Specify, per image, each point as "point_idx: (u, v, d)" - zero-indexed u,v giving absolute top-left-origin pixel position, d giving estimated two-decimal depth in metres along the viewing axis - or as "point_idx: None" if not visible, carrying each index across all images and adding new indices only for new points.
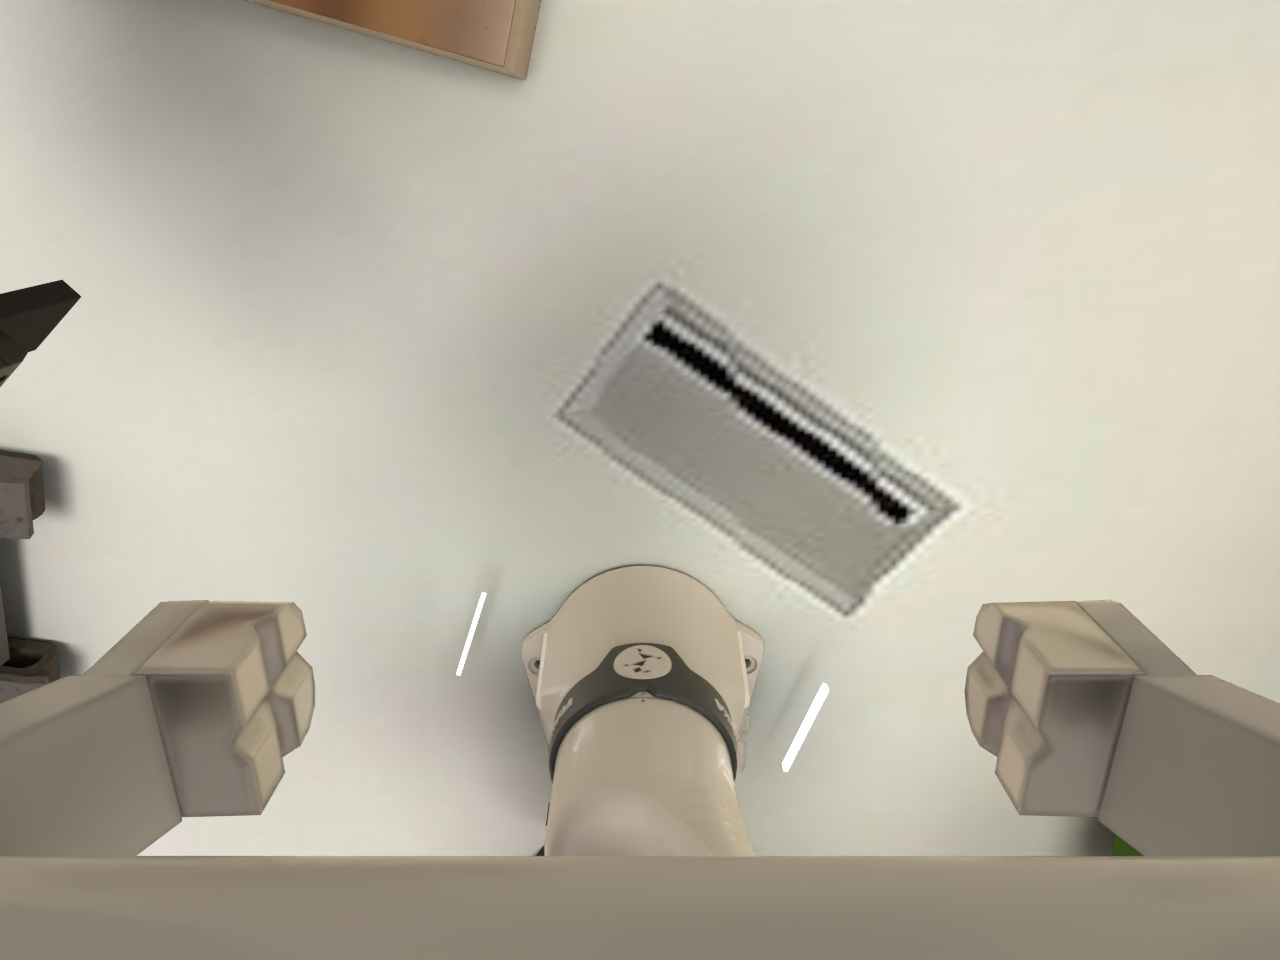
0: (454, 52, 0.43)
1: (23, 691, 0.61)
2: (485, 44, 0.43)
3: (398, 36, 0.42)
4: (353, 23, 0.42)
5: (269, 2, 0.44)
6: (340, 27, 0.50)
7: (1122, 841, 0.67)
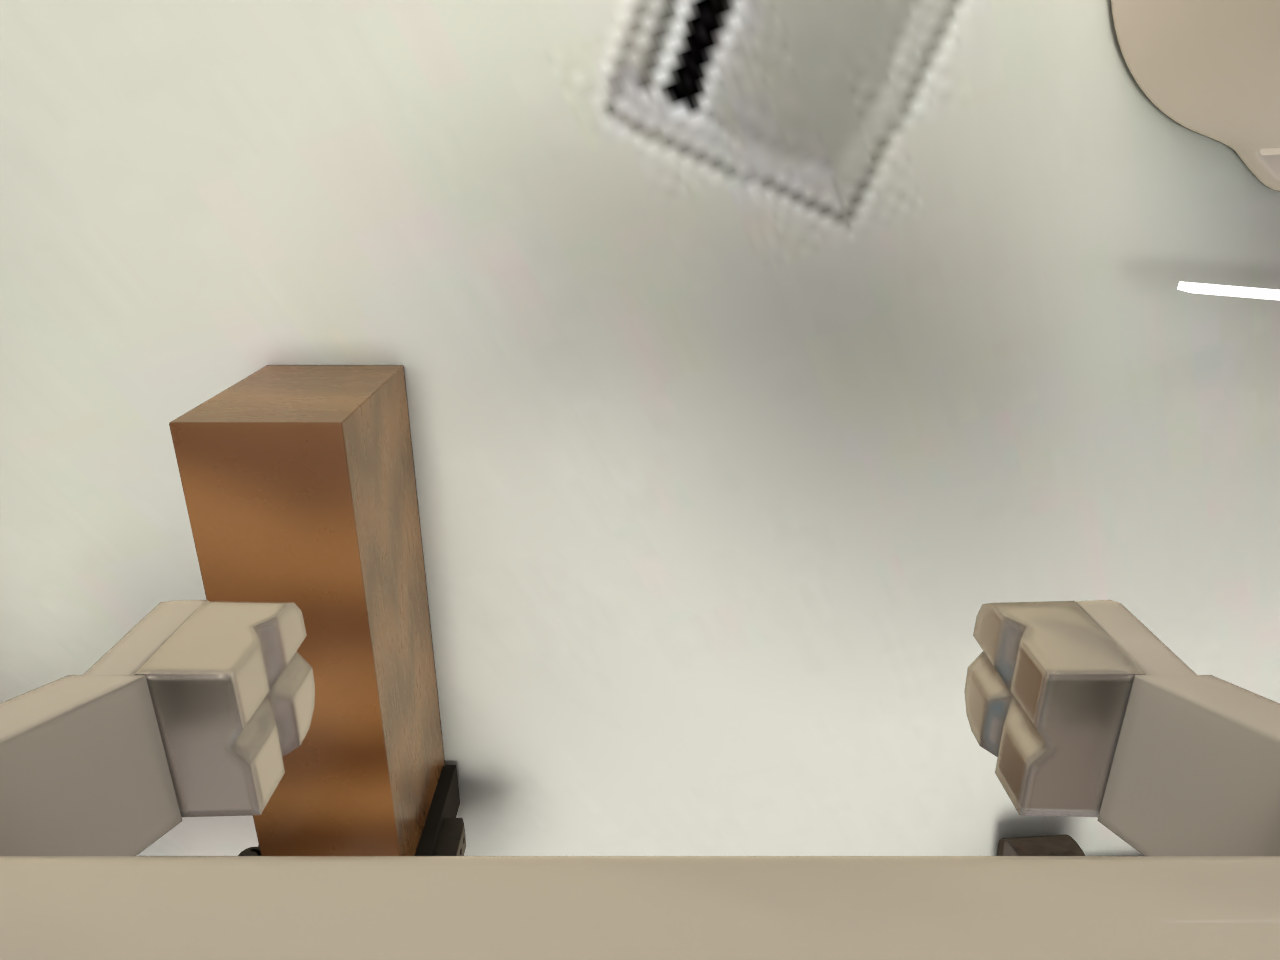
0: (349, 486, 0.32)
1: None
2: (324, 450, 0.32)
3: (357, 553, 0.33)
4: (364, 603, 0.34)
5: (392, 677, 0.38)
6: None
7: None
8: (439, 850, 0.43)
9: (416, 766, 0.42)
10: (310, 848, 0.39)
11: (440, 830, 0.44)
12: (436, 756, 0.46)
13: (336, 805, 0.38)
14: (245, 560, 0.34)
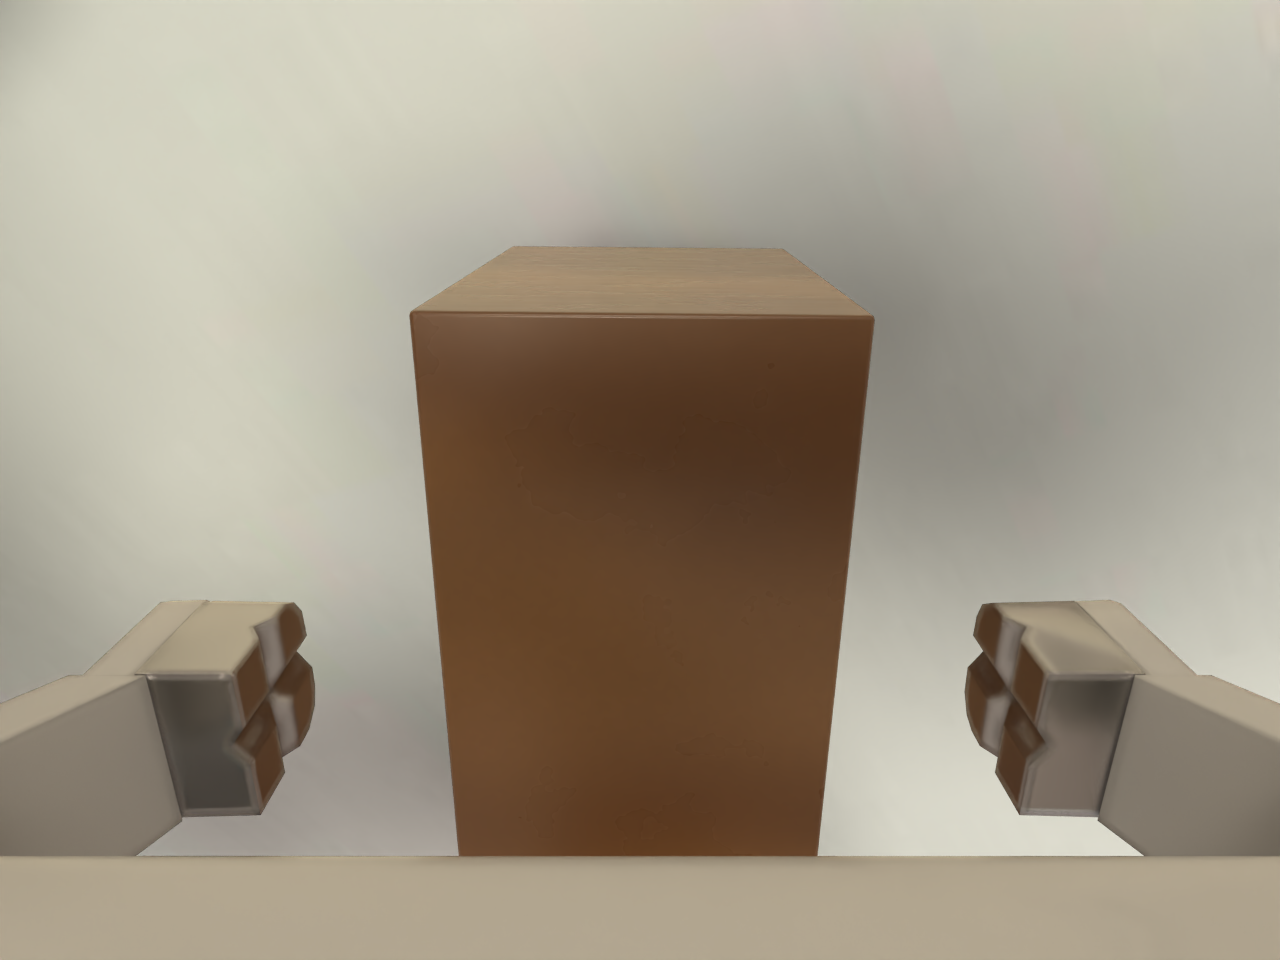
0: (853, 488, 0.13)
1: None
2: (811, 391, 0.12)
3: (836, 653, 0.14)
4: (824, 768, 0.14)
5: None
6: None
7: None
8: None
9: None
10: None
11: None
12: None
13: None
14: (556, 666, 0.14)
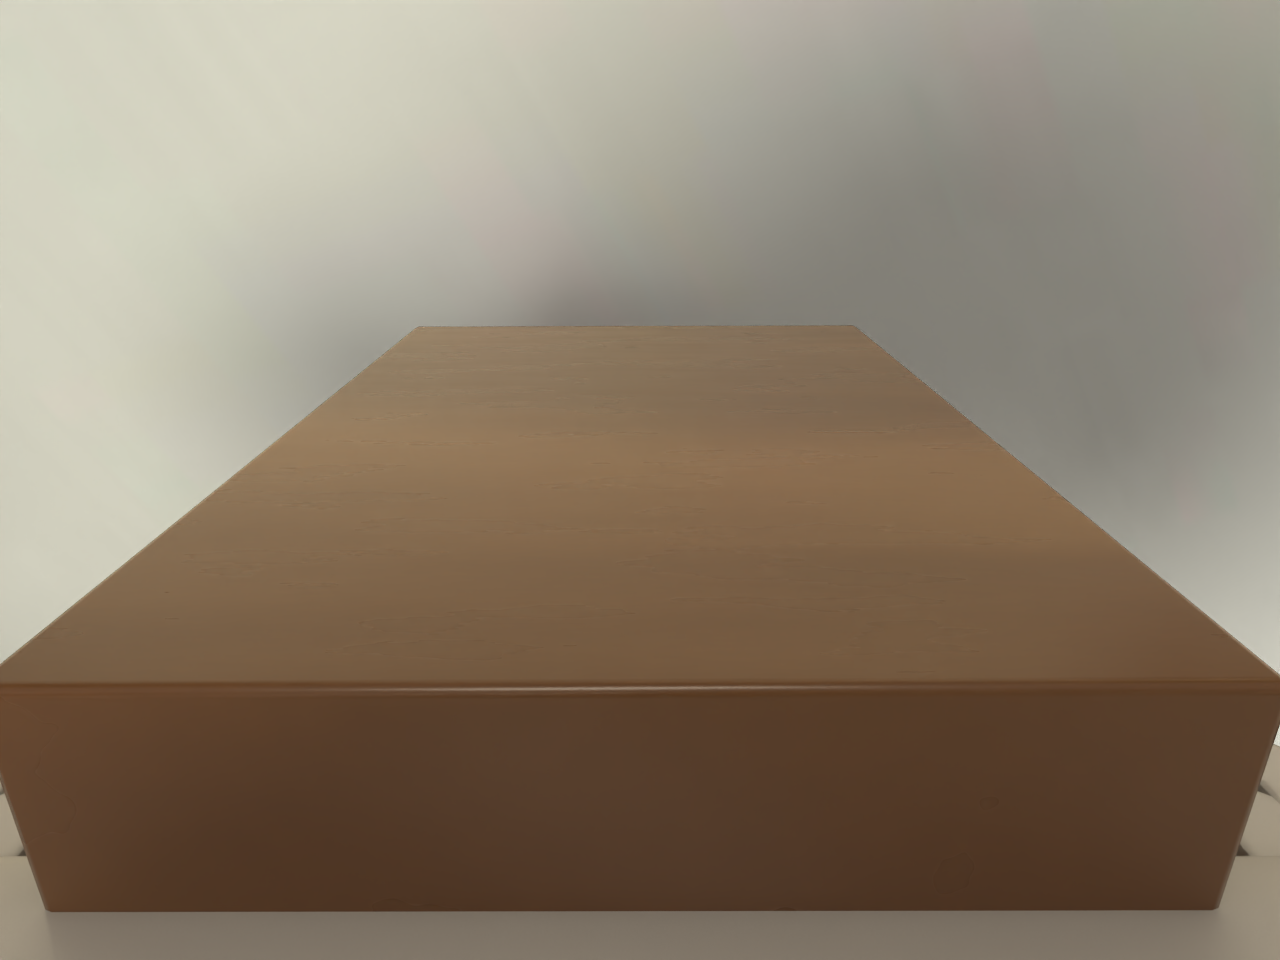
0: None
1: None
2: (1091, 858, 0.04)
3: None
4: None
5: None
6: None
7: None
8: None
9: None
10: None
11: None
12: None
13: None
14: None
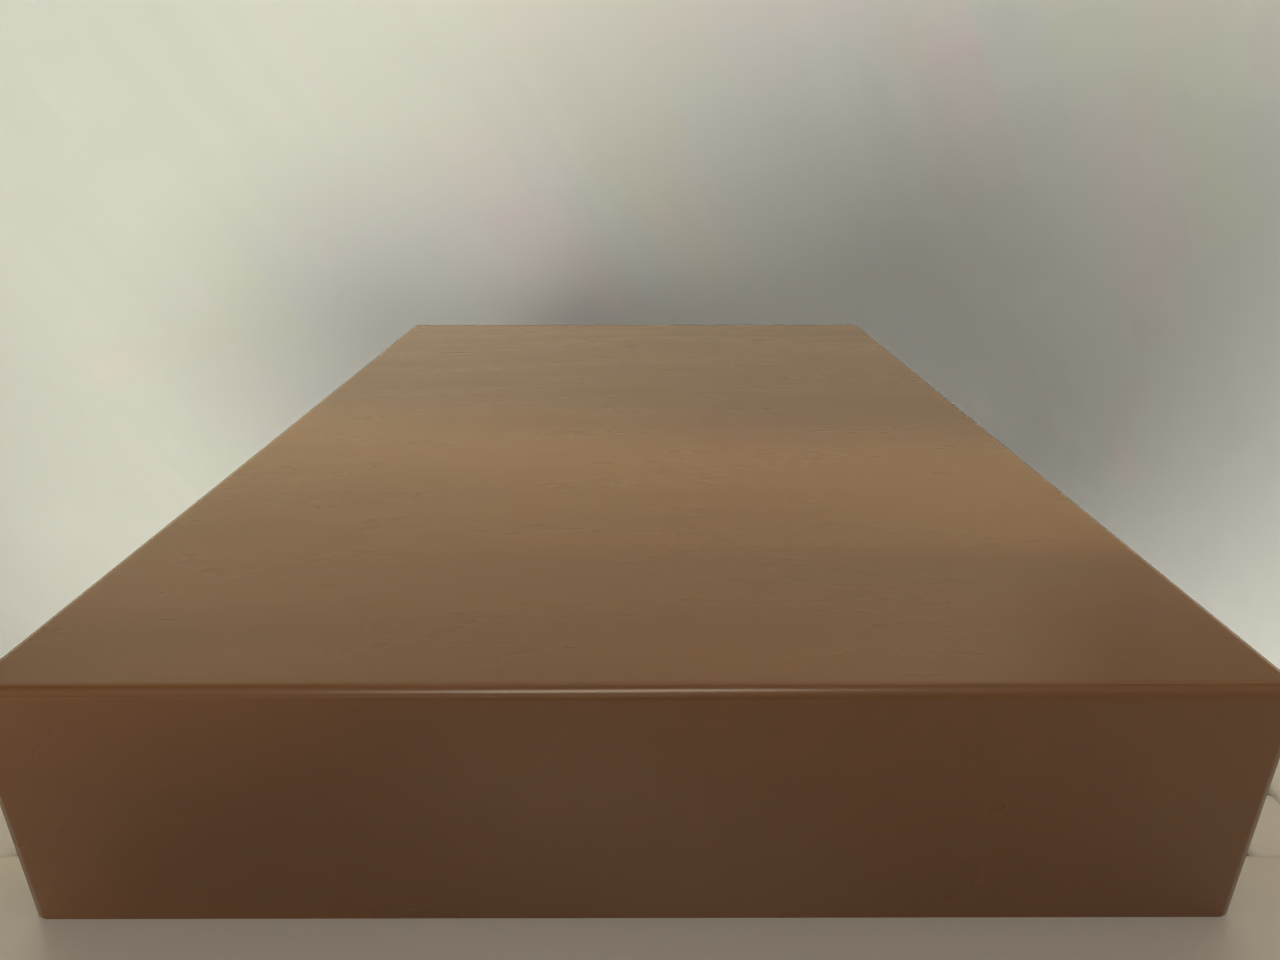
0: None
1: None
2: (1098, 862, 0.04)
3: None
4: None
5: None
6: None
7: None
8: None
9: None
10: None
11: None
12: None
13: None
14: None
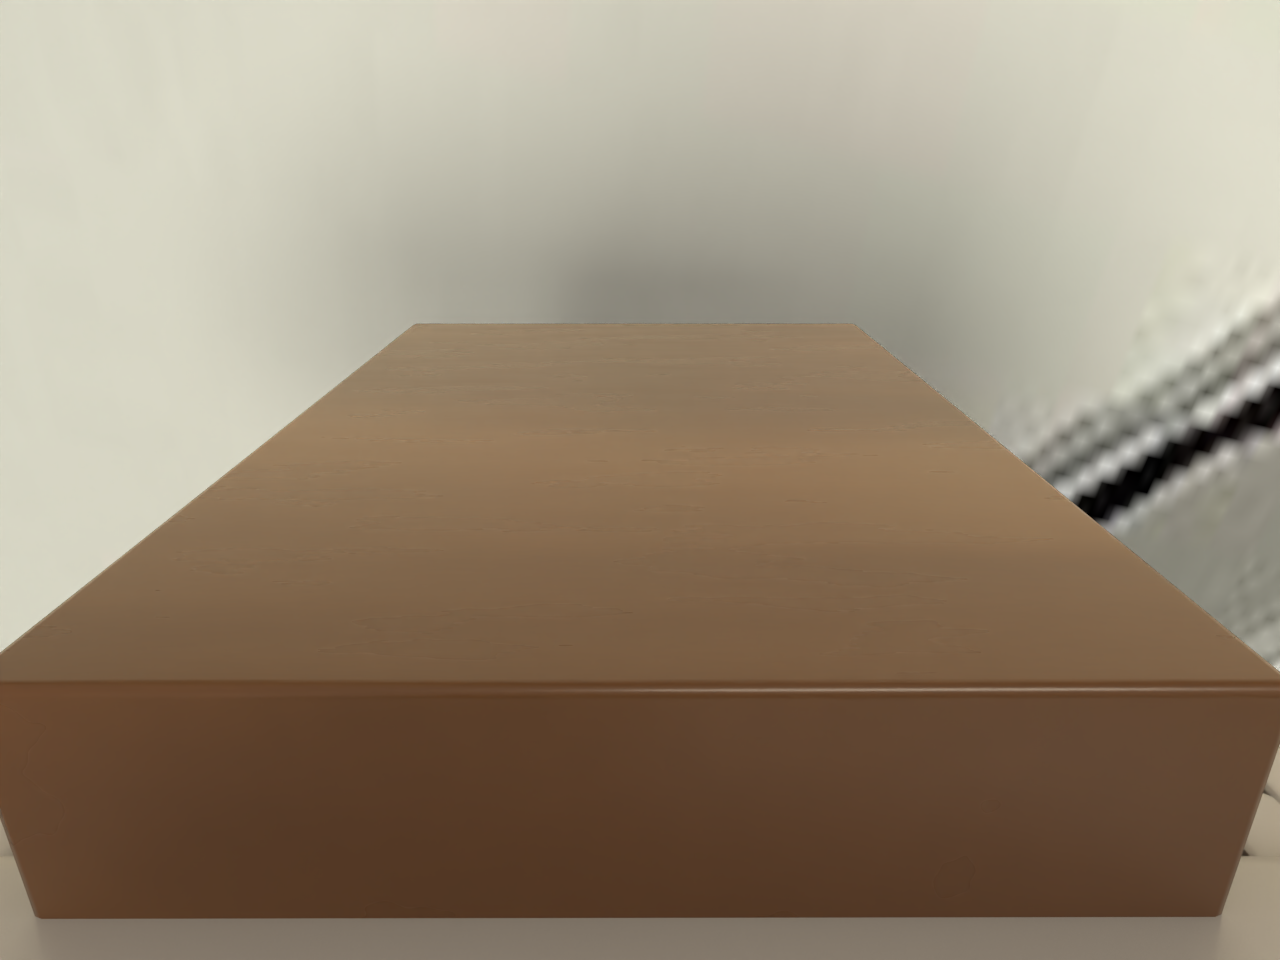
0: None
1: None
2: (1092, 861, 0.04)
3: None
4: None
5: None
6: None
7: None
8: None
9: None
10: None
11: None
12: None
13: None
14: None
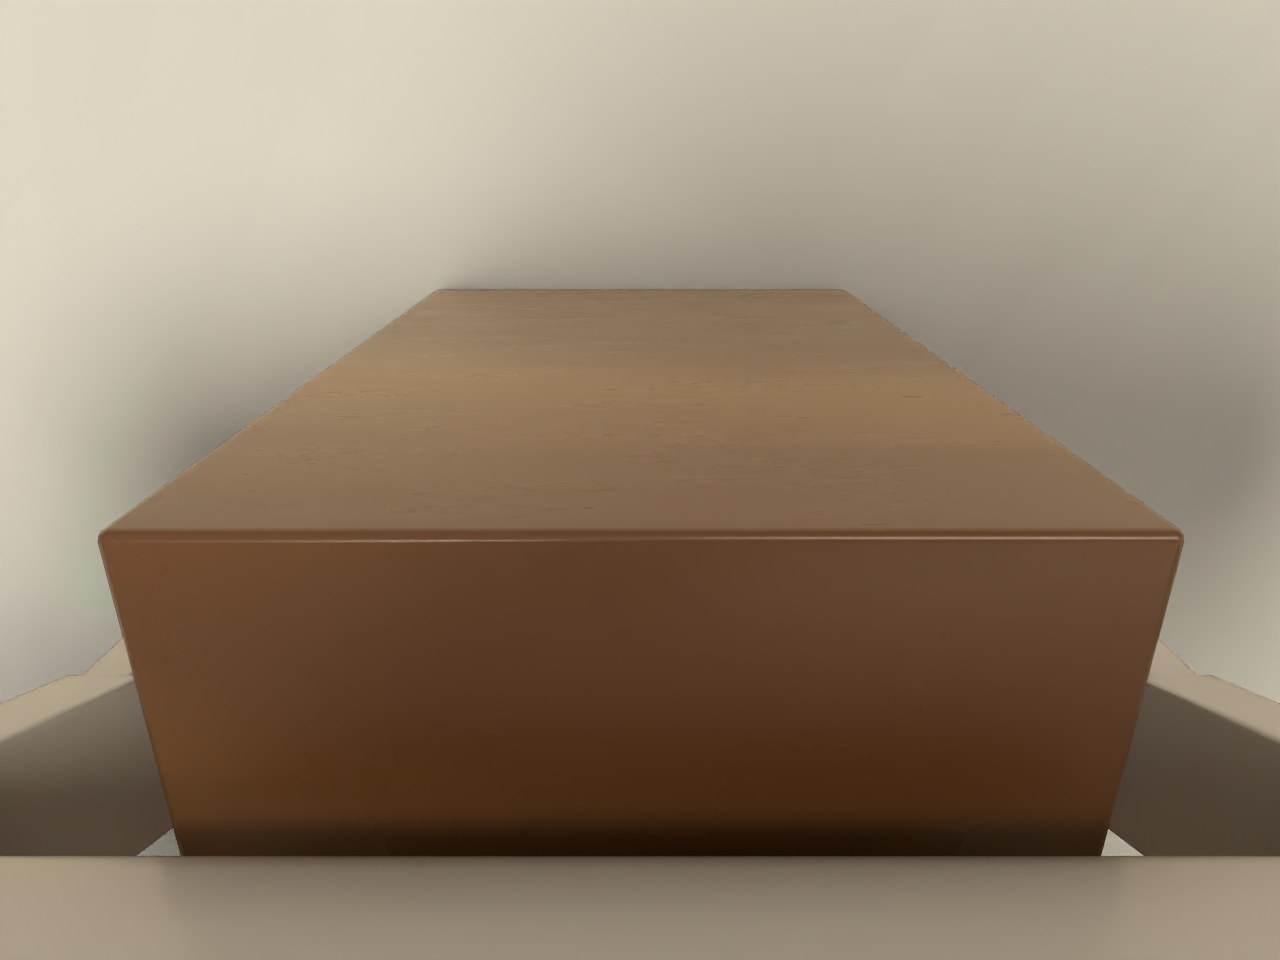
0: None
1: None
2: (1023, 686, 0.05)
3: None
4: None
5: None
6: None
7: None
8: None
9: None
10: None
11: None
12: None
13: None
14: None
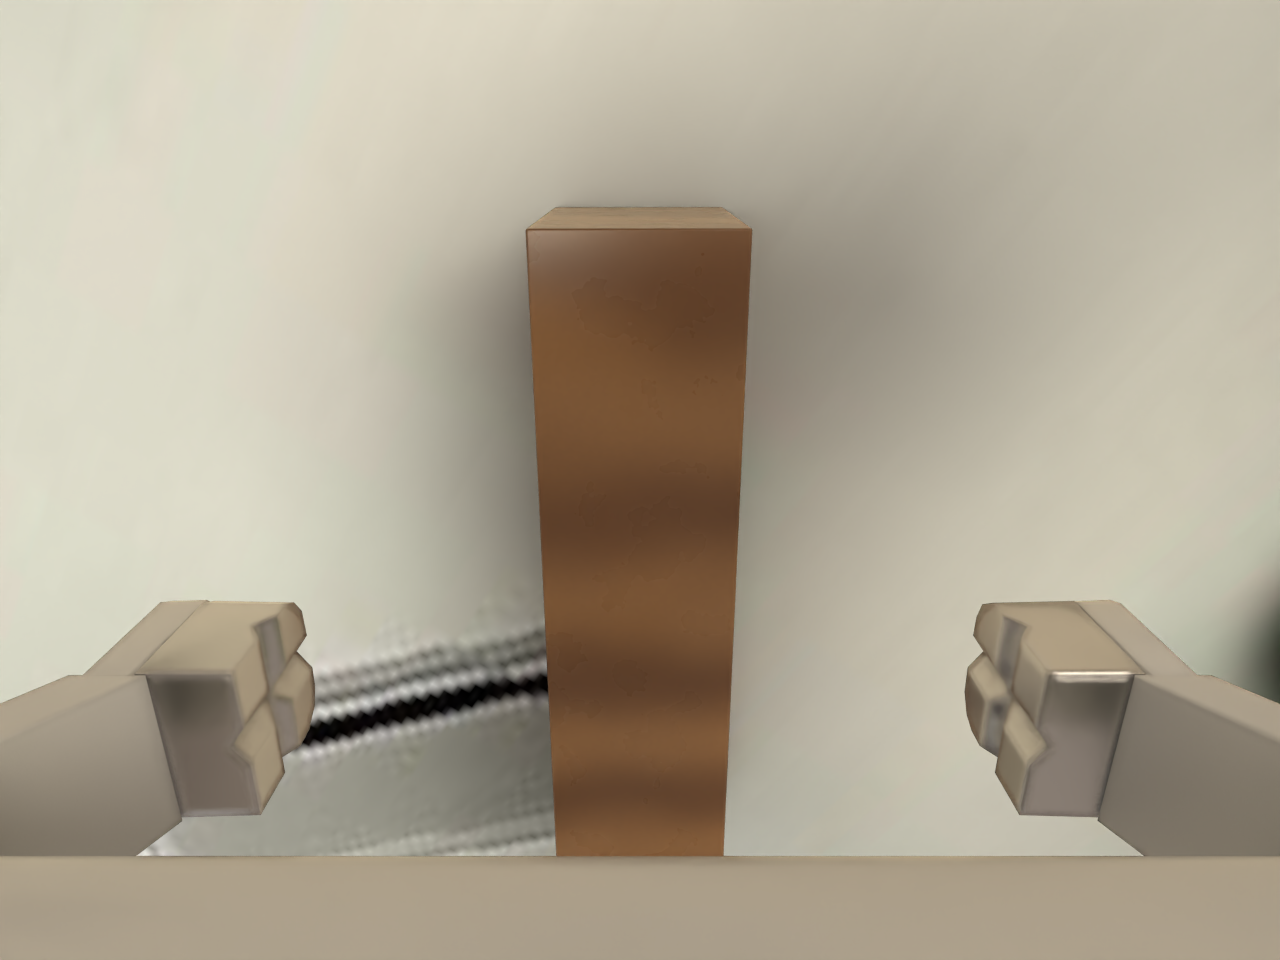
0: (746, 318, 0.25)
1: None
2: (723, 266, 0.24)
3: (742, 410, 0.26)
4: (739, 479, 0.27)
5: None
6: None
7: None
8: None
9: None
10: (616, 801, 0.32)
11: None
12: None
13: (659, 746, 0.31)
14: (596, 421, 0.26)
